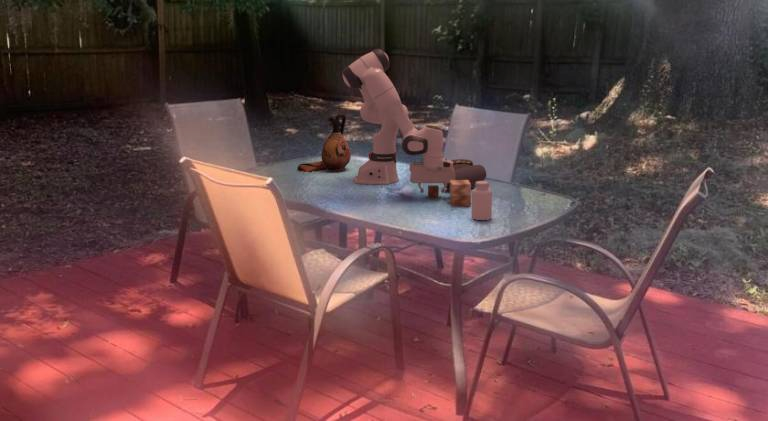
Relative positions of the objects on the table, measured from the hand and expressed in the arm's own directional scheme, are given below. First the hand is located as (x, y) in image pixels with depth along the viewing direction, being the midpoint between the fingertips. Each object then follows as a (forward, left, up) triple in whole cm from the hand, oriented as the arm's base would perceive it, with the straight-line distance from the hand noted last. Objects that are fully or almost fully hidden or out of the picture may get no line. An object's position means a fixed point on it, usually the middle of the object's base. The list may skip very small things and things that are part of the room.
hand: (432, 192), depth 306 cm
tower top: (+11, -12, +2) cm, 16 cm away
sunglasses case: (-58, +60, -3) cm, 84 cm away
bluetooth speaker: (+16, +17, -3) cm, 24 cm away
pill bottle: (+17, -34, -3) cm, 38 cm away
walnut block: (0, 0, -2) cm, 2 cm away
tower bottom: (+11, -11, -3) cm, 16 cm away
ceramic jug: (-47, +58, -3) cm, 75 cm away
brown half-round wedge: (+16, +33, -3) cm, 37 cm away
